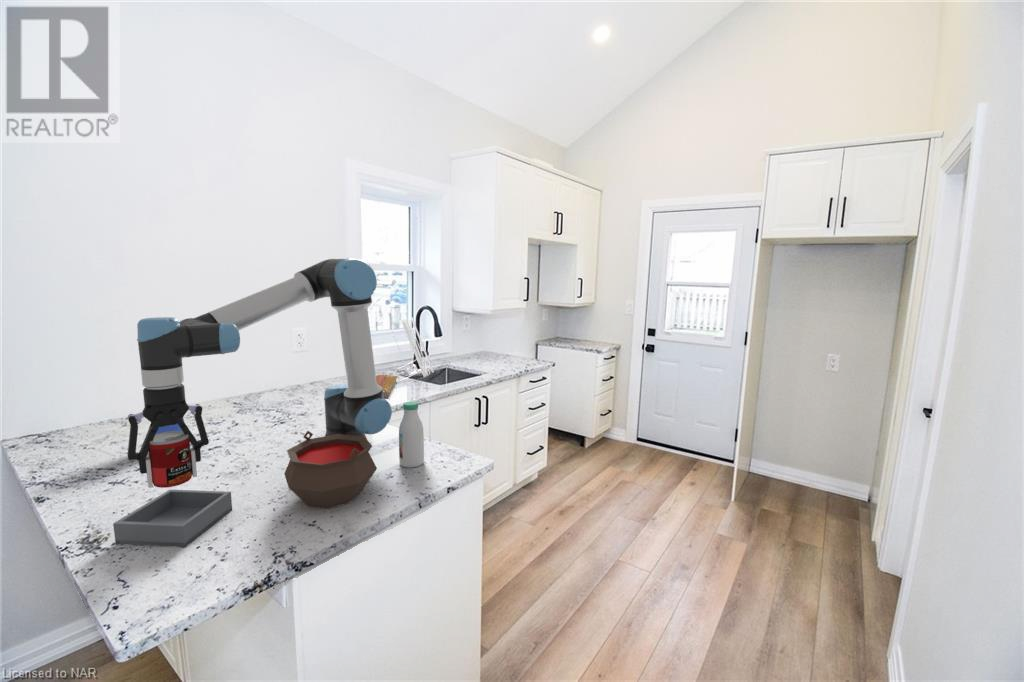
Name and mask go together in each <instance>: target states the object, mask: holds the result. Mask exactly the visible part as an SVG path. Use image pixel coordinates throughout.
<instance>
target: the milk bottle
mask: <svg viewBox="0 0 1024 682" xmlns="http://www.w3.org/2000/svg"><path fill="white" fill-rule="evenodd" d="M402 408H403V416H402V419H401V420H400V424H399V428H398V447H399V448H398V452H399V453H398V455H399V456H398V457H399V464H400V466H402V467H403V468H410V469H411V468H418V467H420V466H423V464H424V461H425V450H424V449H425V442H424V441H425V440H424V437H425V436H424V426H423V422H422V420H421V418H420V416H419V414H418V410H419V402H417V401H407V402H404V403H403V407H402Z"/></svg>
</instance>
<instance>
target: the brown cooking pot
mask: <svg viewBox="0 0 1024 682" xmlns="http://www.w3.org/2000/svg"><path fill="white" fill-rule="evenodd" d="M308 435H309V436H308ZM313 435H314V433H313V432H311V431H309V430H307V431H306V433H305V434H304V435H303V438H304V439H305V440H304V441H302V442H300V443H298V444H296V445H293V447H291V448H289V449H287V450H286V451H287V454H288V458H289V462H288V464H287V466H286V468H285V471H284V477H285V481H286V484H287V487H288V489H290V490H291V491H292V492H293V493H294V494H295V496H297V497H298V498H299V499H300V500H301V501H302V502H303V503H304V504H305V505H306V506H307V507H312V508H318V509H319V508H320V509H325V508H326V509H327V508H328V509H332V508H335V506H336V507H339V506H338V505H340V506H343V505H342V504H344V505H347V503H348V504H350V503H351V502H352V501H353V500H354V499H356V498H357V497H358V496H359V495H360V494H361V493H362V491H363V490H364V488H365V487H366V485H367V484H368V482H369V481H370V479H371V478H372V476H374V474H375V472H376V470H378V467H377V466H376V464H375V462H374V459H373V458H372V455H371V454H370V450H371V449H372V447H373V445H372V444H371V443H370V442H369V440H368V438H367V439H366V438H365V437H362V436H352V435H343V434H336V435H330V436H325V435H324V436H320V437H319V436H318V437H313V438H312V436H313ZM357 495H358V496H357ZM356 496H357V497H356ZM350 501H351V502H350ZM349 502H350V503H349ZM331 507H332V508H331ZM328 509H327V510H328Z"/></svg>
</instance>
